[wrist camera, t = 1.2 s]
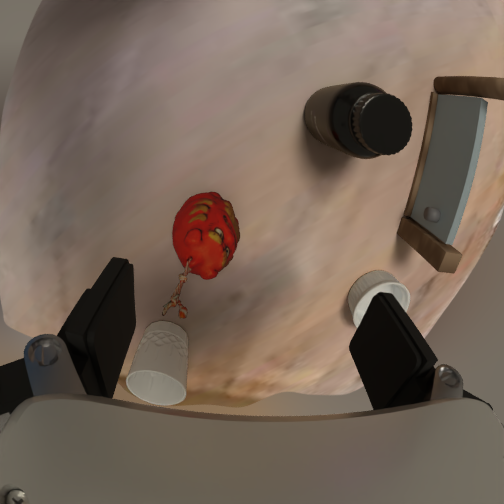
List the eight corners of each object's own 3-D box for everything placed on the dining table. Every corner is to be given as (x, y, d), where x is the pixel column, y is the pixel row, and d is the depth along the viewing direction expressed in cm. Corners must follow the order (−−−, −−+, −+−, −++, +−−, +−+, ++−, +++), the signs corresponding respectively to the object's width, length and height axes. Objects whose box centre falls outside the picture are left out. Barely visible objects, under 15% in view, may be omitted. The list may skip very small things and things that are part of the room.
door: (430, 90, 26) (473, 92, 18) (444, 97, 26) (487, 102, 19) (401, 215, 33) (436, 242, 26) (416, 218, 33) (452, 244, 26)
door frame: (433, 72, 25) (507, 73, 13) (449, 82, 25) (522, 87, 14) (396, 233, 35) (452, 286, 23) (413, 236, 35) (469, 287, 24)
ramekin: (351, 323, 42) (360, 342, 38) (336, 282, 38) (347, 301, 34) (400, 299, 41) (412, 316, 37) (392, 255, 37) (407, 271, 33)
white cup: (157, 357, 43) (147, 407, 34) (132, 323, 39) (114, 374, 30) (200, 348, 42) (196, 401, 33) (177, 311, 38) (166, 366, 30)
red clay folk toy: (248, 237, 34) (259, 322, 21) (195, 258, 35) (177, 348, 22) (222, 178, 31) (213, 235, 17) (166, 204, 31) (122, 274, 18)
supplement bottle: (292, 127, 28) (327, 136, 18) (320, 75, 26) (369, 59, 15) (343, 157, 30) (398, 184, 19) (370, 108, 27) (435, 114, 17)
